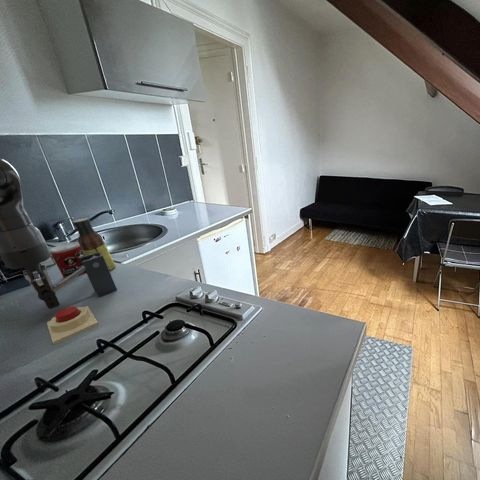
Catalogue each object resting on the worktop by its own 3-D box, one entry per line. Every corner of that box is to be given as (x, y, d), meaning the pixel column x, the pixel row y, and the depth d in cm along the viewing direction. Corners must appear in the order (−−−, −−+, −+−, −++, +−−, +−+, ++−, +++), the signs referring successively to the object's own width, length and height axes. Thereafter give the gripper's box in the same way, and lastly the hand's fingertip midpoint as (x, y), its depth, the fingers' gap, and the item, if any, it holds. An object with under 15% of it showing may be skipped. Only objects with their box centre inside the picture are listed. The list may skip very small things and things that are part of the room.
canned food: (63, 283, 86) (48, 253, 81) (64, 275, 91) (50, 246, 87) (93, 274, 90) (80, 246, 86) (92, 267, 96) (80, 239, 92)
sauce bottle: (115, 267, 95) (94, 215, 87) (118, 272, 91) (96, 218, 83) (93, 274, 91) (68, 220, 83) (95, 280, 87) (69, 223, 79)
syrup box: (53, 260, 104) (35, 226, 98) (56, 264, 100) (39, 229, 95) (33, 266, 99) (13, 231, 94) (36, 270, 96) (16, 234, 91)
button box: (50, 329, 65) (43, 316, 63) (90, 312, 70) (84, 299, 69) (57, 349, 58) (48, 335, 56) (101, 329, 63) (94, 316, 62)
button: (56, 318, 62) (53, 312, 62) (78, 310, 65) (75, 304, 65) (59, 325, 60) (56, 319, 59) (81, 316, 63) (78, 310, 62)
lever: (46, 304, 67) (34, 297, 65) (45, 300, 69) (33, 293, 67) (104, 264, 74) (95, 256, 72) (101, 261, 76) (92, 253, 74)
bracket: (88, 310, 71) (67, 269, 66) (81, 298, 77) (62, 260, 72) (133, 291, 79) (118, 253, 74) (124, 282, 84) (110, 246, 79)
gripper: (-3, 244, 64) (31, 302, 71) (-3, 258, 55) (36, 322, 62) (39, 234, 69) (67, 289, 76) (45, 246, 60) (76, 306, 67)
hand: (53, 304), depth 69 cm, fingers closed on lever, 3 cm apart
